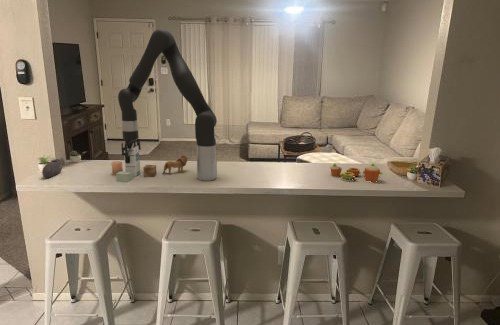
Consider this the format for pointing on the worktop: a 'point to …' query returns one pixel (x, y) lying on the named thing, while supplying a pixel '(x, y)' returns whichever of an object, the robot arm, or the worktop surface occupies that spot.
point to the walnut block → (149, 170)
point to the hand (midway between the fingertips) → (132, 161)
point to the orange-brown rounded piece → (116, 167)
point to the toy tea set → (357, 173)
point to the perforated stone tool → (52, 168)
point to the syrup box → (133, 162)
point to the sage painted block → (124, 176)
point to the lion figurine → (176, 164)
